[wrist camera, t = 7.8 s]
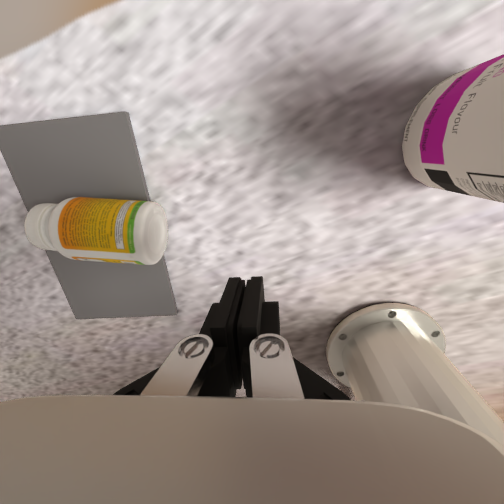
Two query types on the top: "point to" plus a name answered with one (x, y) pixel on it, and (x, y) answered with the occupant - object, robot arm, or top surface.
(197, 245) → the top surface
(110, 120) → the mat
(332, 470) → the robot arm
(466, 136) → the supplement can
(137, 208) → the supplement bottle
